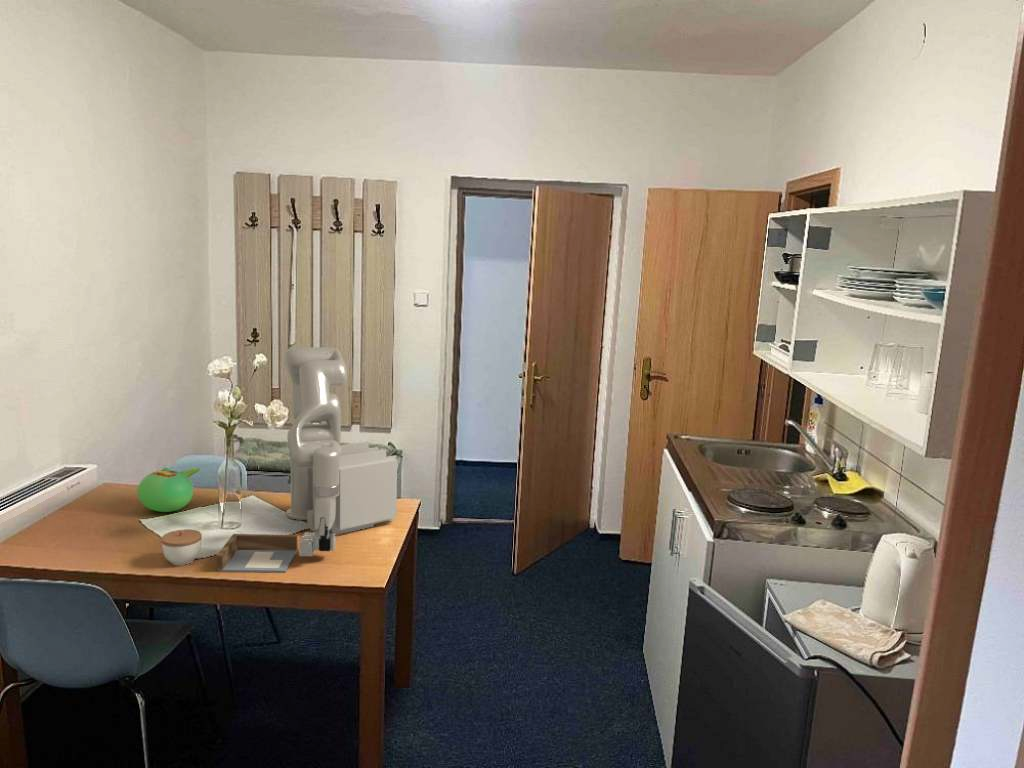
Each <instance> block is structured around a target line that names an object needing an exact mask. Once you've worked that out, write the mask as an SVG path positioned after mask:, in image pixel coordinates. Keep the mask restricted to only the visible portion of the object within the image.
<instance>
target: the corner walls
mask: <svg viewBox="0 0 1024 768" xmlns="http://www.w3.org/2000/svg"><path fill="white" fill-rule="evenodd" d="M237 550H297V551H298V534H269V533H268V534H267V533H265V534H262V533H233V534H232V535H231V537H230V538H229V539H228V540H227V542H226V543H225V544H224V545H223V546H222V547H221V549H220V550H219V552H218V553H217V554H216V571H217V570H223V568H224V567H225V566H226V564H227V563H228V562H229V560H230V559H231V558H232V556H233V555H234V554H235V552H236V551H237ZM220 572H221V571H220ZM220 572H219V573H220ZM221 573H222V572H221Z"/></svg>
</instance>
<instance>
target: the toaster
mask: <svg viewBox="0 0 1024 768" xmlns="http://www.w3.org/2000/svg"><path fill="white" fill-rule="evenodd" d="M369 443H370V442H369V441H368V440H367V441H362V442H354V443H349V444H342V445H341V444H340V447H341V457H340V461H339V495H338V496H337V497H336V515H335V520H334V523H333V525H332V527H333V529H332V532H333V533H335V535H336V536H340V535H344V534H343V533H345V534H348V533H347V532H349V533H353V532H357V531H356V530H358V531H361V530H360V529H362V530H366V529H365V528H367V529H370V528H369V527H371V528H374V525H375V524H380V523H384V522H388V521H393V520H396V518H397V510H398V509H397V507H398V506H397V503H398V502H397V500H398V499H397V498H398V497H397V495H398V459H397V455H389V456H387V449H380V450H379V447H378V446H377V447H370V446H369ZM315 499H316V497H314V496H313V510H308V511H307V520H306V527H307V528H308V527H309V528H310V529H309V528H308V529H309V530H311V531H312V532H313V531H314V532H313V533H319V527H318V529H317V530H314V510H315ZM319 526H320V525H319ZM352 531H353V532H352ZM339 534H340V535H339Z"/></svg>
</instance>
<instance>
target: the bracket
mask: <svg viewBox="0 0 1024 768" xmlns="http://www.w3.org/2000/svg"><path fill="white" fill-rule="evenodd" d="M329 538H330V551H329V552H332V551H335V548H336V536H335V533H329ZM315 551H319V533H315V532H304V533H303V536H302V537H301V539H300V542H299V557H313V554H314V553H315Z"/></svg>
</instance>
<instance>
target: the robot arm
mask: <svg viewBox="0 0 1024 768" xmlns="http://www.w3.org/2000/svg"><path fill="white" fill-rule="evenodd" d="M284 364H285V368H286V370H287V373H288V375H289V378H290V381H291V382H290V383H291V413H292V415H291V416H292V417H293V419H294V421H293V423H292V425H291V428H289V430H288V432H287V435H286V436H287V446H288V452H289V461H290V462H289V464H290V508H287V510H286V515H285V516H286V517H287V518H289V519H291V520H295V519H296V520H297V521H307V511H308V510H313V496H314V497H316V499H315V510H314V530H317V529H318V527H319V550H318V551H320V552H331V551H330V538H329V533H333V532H332V529H333V527H332V525H333V523H334V520H335V515H336V497H337V496H338V495H339V461H340V457H341V447H340V445H341V439H342V438H341V436H342V435H341V431H342V428H341V422H342V421H341V417H342V409H341V407H342V406H341V401H340V399H339V397H338V395H336V394H335V393H332V392H330V388H335V387H344V386H345V385H346V383H347V380H348V370H347V365H346V363H345V360H344V358H343V356H342V354H341V352H340V350H339V349H338V348H336V347H329V346H323V347H322V346H320V347H319V346H318V347H317V346H315V347H314V346H313V347H312V346H311V347H310V346H308V347H305V346H304V347H293V348H289V349H288V350H286V351H285V354H284ZM311 422H313V424H310V423H311ZM314 422H316V424H314ZM317 422H326V423H317ZM308 423H309V424H308ZM319 525H320V526H319Z"/></svg>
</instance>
